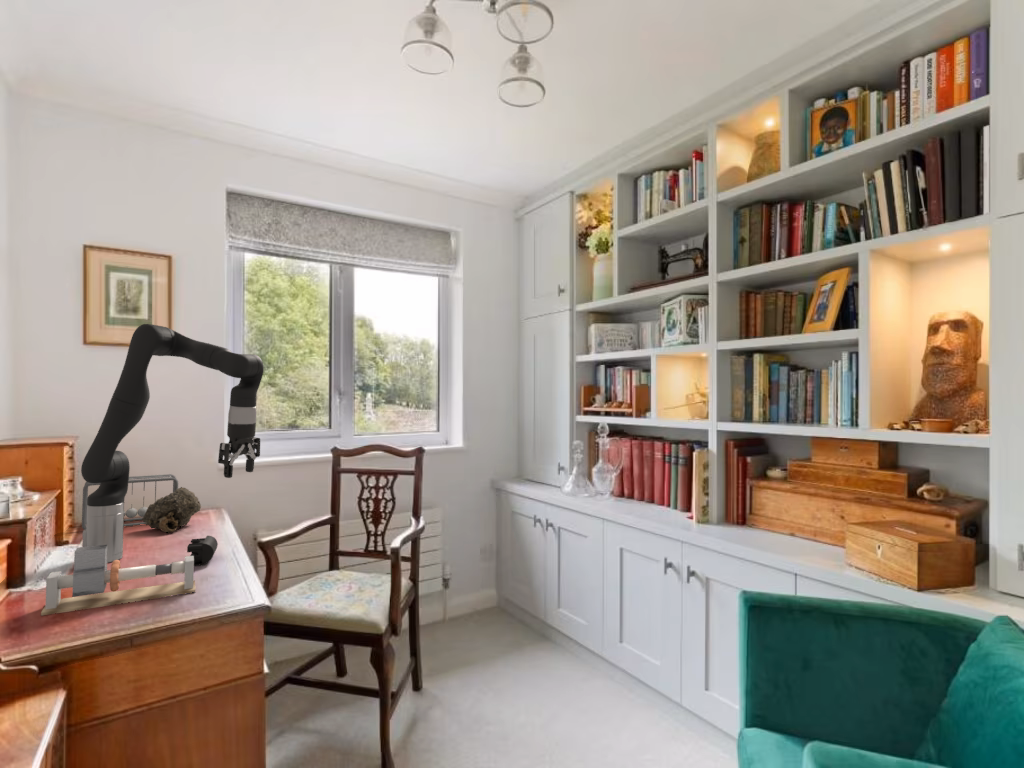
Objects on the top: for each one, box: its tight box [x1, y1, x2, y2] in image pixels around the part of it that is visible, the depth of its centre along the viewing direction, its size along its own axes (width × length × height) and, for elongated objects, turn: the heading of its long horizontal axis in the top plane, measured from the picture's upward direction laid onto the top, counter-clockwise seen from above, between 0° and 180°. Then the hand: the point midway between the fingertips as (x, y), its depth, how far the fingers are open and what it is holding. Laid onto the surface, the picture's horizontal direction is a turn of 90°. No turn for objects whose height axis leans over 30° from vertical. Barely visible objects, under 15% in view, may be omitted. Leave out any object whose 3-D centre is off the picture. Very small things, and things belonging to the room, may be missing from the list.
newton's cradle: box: [81, 473, 179, 531], centre depth 213 cm, size 30×10×18 cm, turn 126°
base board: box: [40, 579, 196, 616], centre depth 138 cm, size 31×8×1 cm, turn 121°
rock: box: [141, 486, 202, 534], centre depth 206 cm, size 18×14×15 cm
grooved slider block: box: [71, 545, 108, 597], centre depth 135 cm, size 6×6×10 cm
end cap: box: [186, 535, 219, 567], centre depth 169 cm, size 10×7×7 cm
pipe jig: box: [44, 555, 195, 610], centre depth 138 cm, size 30×5×8 cm, turn 121°
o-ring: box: [109, 559, 122, 592], centre depth 137 cm, size 2×7×7 cm, turn 31°
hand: (238, 474), depth 163 cm, fingers open, 8 cm apart
